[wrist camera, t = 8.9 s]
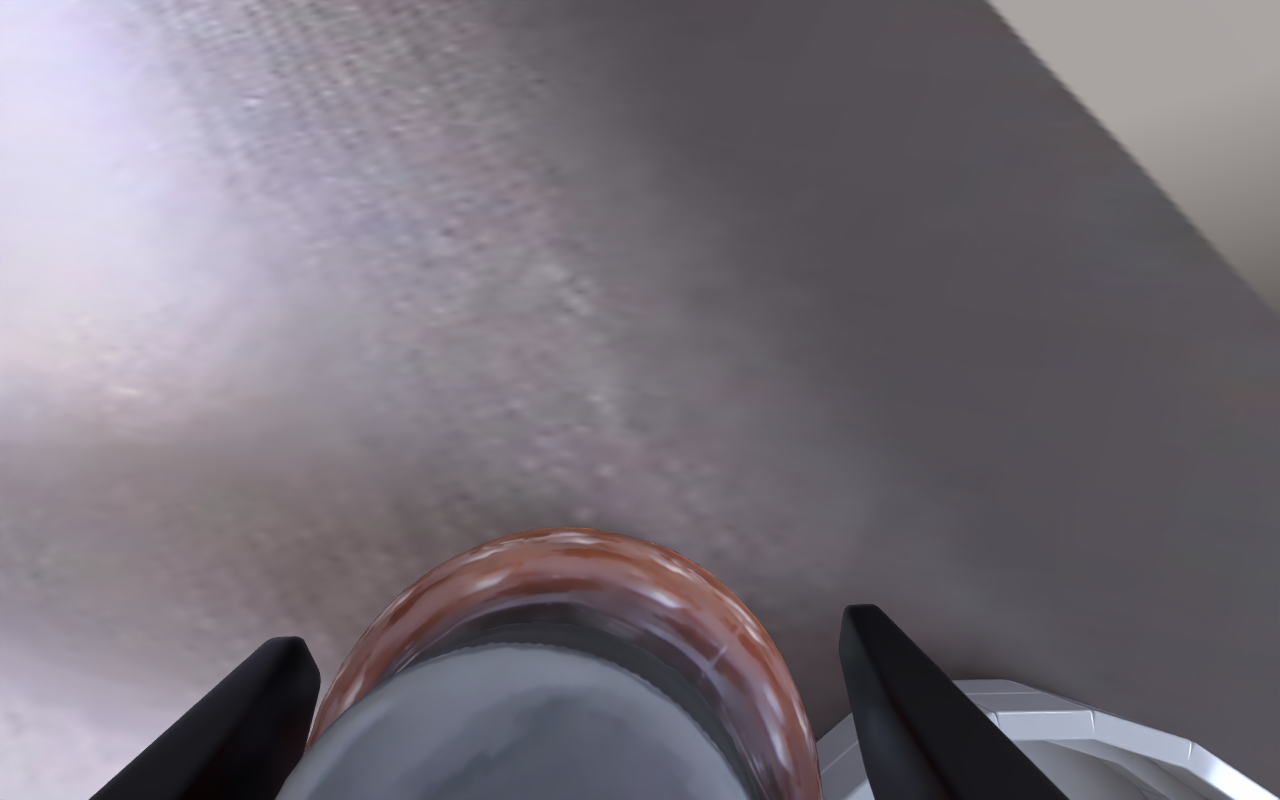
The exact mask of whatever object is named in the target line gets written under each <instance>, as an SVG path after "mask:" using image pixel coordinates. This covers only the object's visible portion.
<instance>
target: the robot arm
mask: <svg viewBox="0 0 1280 800" xmlns="http://www.w3.org/2000/svg"><path fill="white" fill-rule="evenodd" d="M839 654H840V660H841V665H842V669H843V674H844V678H845V683H846V687H847V692H848V696H849V701H850V706H851V710H852V715H853V719H854V724H855V728H856V733H857V737H858V742H859V746H860V751H861V755H862V759H863V763H864V767H865V771H866V774H867V777H868V781H869V784H870V787H871V790H872V793H873V796H874V799H875V800H1070V799H1069V798H1068V797H1067V796H1066V795H1065V794H1064V793H1063V792H1062V791H1061V790H1060V789H1059V788H1058V787H1057V786H1056V785H1055V784H1054V783H1053V782H1052V781H1051V780H1050V779H1049V778H1048V777H1047V776H1046V775H1045V774H1044V773H1043V772H1042V771H1041V770H1040V769H1039V768H1038V767H1037V766H1036V765H1035V764H1034V763H1033V762H1032V761H1031V760H1030V759H1029V758H1028V757H1027V756H1026V755H1025V754H1024V753H1023V752H1022V751H1021V750H1020V749H1019V748H1018V747H1017V746H1016V745H1015V744H1014V743H1013V742H1012V741H1011V740H1010V739H1009V738H1008V737H1007V736H1006V735H1005V734H1004V733H1003V732H1002V731H1001V730H1000V729H999V728H998V727H997V726H996V725H995V724H994V723H993V722H992V721H991V720H990V719H989V718H988V717H987V716H986V715H985V714H984V713H983V712H982V711H981V710H980V709H979V708H978V707H977V706H976V705H975V704H974V703H973V702H972V701H971V700H970V699H969V698H968V697H967V696H966V695H965V694H964V693H963V692H962V691H961V690H960V689H959V688H958V687H957V686H956V684H955V683H954V682H953V681H952V680H951V679H950V678H949V677H948V676H947V675H946V674H945V673H944V672H943V671H942V670H941V669H940V668H939V667H938V666H937V665H936V664H935V663H934V662H933V661H932V660H931V659H930V658H929V657H928V656H927V655H926V654H925V653H924V652H923V651H922V650H921V649H920V648H919V647H918V646H917V645H916V644H915V643H914V642H913V641H912V640H911V639H910V638H909V637H908V636H907V635H906V634H905V633H904V632H903V631H902V630H901V629H900V628H899V627H898V626H897V625H896V624H895V623H894V622H893V621H892V620H891V619H890V618H889V617H888V616H887V615H886V614H885V613H884V612H883V611H882V610H881V609H880V608H879V607H877V606H876V605H873V604H858V605H849V606H847V607H846V608H845V610H844V613H843V620H842V626H841V633H840V640H839ZM320 683H321V678H320V672H319V669H318V667H317V665H316V663H315V661H314V659H313V657H312V655H311V653H310V651H309V649H308V647H307V645H306V643H305V641H304V640H303V639H302V638H300V637H297V636H292V637H276V638H272V639H270V640H268V641H266V642H265V643H264V644H262V645H261V646H260V647H259V648H258V649H257V650H256V651H255V652H254V653H252V654H251V655H250V656H249V657H248V658H247V659H246V660H245V661H243V662H242V663H241V664H240V665H239V666H238V667H237V668H236V669H234V670H233V671H232V672H231V673H230V674H229V675H228V676H227V677H226V678H224V679H223V680H222V681H221V682H220V683H219V684H218V685H217V686H215V687H214V688H213V689H212V690H211V691H210V692H209V693H208V694H206V695H205V696H204V697H203V698H202V699H201V700H200V701H199V702H198V703H196V704H195V705H194V706H193V707H192V708H191V709H190V710H189V711H187V712H186V713H185V714H184V715H183V716H182V717H181V718H180V719H179V720H177V721H176V722H175V723H174V724H173V725H172V726H171V727H170V728H168V729H167V730H166V731H165V732H164V733H163V734H162V735H161V736H159V737H158V738H157V739H156V740H155V741H154V742H153V743H152V744H151V745H149V746H148V747H147V748H146V749H145V750H144V751H143V752H142V753H140V754H139V755H138V756H137V757H136V758H135V759H134V760H133V761H132V762H130V763H129V764H128V765H127V766H126V767H125V768H124V769H123V770H121V771H120V772H119V773H118V774H117V775H116V776H115V777H114V778H112V779H111V780H110V781H109V782H108V783H107V784H106V785H105V786H104V787H102V788H101V789H100V790H99V791H98V792H97V793H96V794H95V795H93V796H92V797H91V798H90V799H89V800H275V798H276V797H277V795H278V794H279V792H280V790H281V788H282V786H283V784H284V782H285V780H286V779H287V777H288V776H289V775H290V774H291V772H292V771H293V770H294V768H295V767H296V766H297V764H298V763H299V761H300V760H301V758H302V757H303V755H304V751H305V747H306V743H307V739H308V735H309V731H310V727H311V723H312V719H313V715H314V711H315V706H316V702H317V698H318V694H319V690H320Z"/></svg>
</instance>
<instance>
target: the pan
mask: <svg viewBox="0 0 1280 800" xmlns="http://www.w3.org/2000/svg"><path fill="white" fill-rule="evenodd" d="M952 681H953V682H954V683H955V684H956V686H957V687H958V688H959V689H960V690H961V691H962V692H963V693H964V694H965V695H966V696H967V697H968V698H969V699H970V700H971V701H972V702H973V703H974V704H975V705H976V706H977V707H978V708H979V709H980V710H981V711H982V712H983V713H984V714H985V715H986V716H987V717H988V718H989V719H990V720H991V721H992V722H993V723H994V724H995V725H996V726H997V727H998V728H999V729H1000V730H1001V731H1002V732H1003V733H1004V734H1005V735H1006V736H1007V737H1008V738H1009V739H1010V740H1011V741H1012V742H1013V743H1014V744H1015V745H1016V746H1017V747H1018V748H1019V749H1020V750H1021V751H1022V752H1023V753H1024V754H1025V755H1026V756H1027V757H1028V758H1029V759H1030V760H1031V761H1032V762H1033V763H1034V764H1035V765H1036V766H1037V767H1038V768H1039V769H1040V770H1041V771H1042V772H1043V773H1044V774H1045V775H1046V776H1047V777H1048V778H1049V779H1050V780H1051V781H1052V782H1053V783H1054V784H1055V785H1056V786H1057V787H1058V788H1059V789H1060V790H1061V791H1062V792H1063V793H1064V794H1065V795H1066V796H1067V797H1068V798H1069V799H1070V800H1280V798H1278V797H1277V796H1275V795H1274V794H1272V793H1271V792H1269V791H1268V790H1266V789H1264V788H1263V787H1261V786H1260V785H1258V784H1257V783H1255V782H1254V781H1252V780H1251V779H1249V778H1248V777H1246V776H1245V775H1243V774H1242V773H1240V772H1239V771H1237V770H1236V769H1234V768H1233V767H1231V766H1230V765H1228V764H1227V763H1225V762H1224V761H1222V760H1221V759H1219V758H1218V757H1216V756H1215V755H1213V754H1212V753H1210V752H1209V751H1207V750H1206V749H1204V748H1203V747H1201V746H1200V745H1198V744H1196V743H1195V742H1192V741H1190V740H1188V739H1186V738H1183V737H1180V736H1177V735H1174V734H1171V733H1169V732H1166V731H1163V730H1160V729H1157V728H1154V727H1151V726H1149V725H1146V724H1143V723H1140V722H1137V721H1134V720H1131V719H1128V718H1126V717H1123V716H1120V715H1117V714H1114V713H1111V712H1109V711H1106V710H1103V709H1100V708H1097V707H1094V706H1091V705H1089V704H1086V703H1083V702H1079V701H1076V700H1073V699H1070V698H1067V697H1063V696H1060V695H1057V694H1054V693H1050V692H1047V691H1044V690H1041V689H1038V688H1034V687H1031V686H1028V685H1025V684H1021V683H1018V682H1015V681H1012V680H1008V681H1007V680H1004V679H996V680H952ZM816 748H817V753H818V760H819V766H820V775H821V782H822V790H823V797H824V800H875V799H874V796H873V793H872V790H871V787H870V784H869V781H868V777H867V774H866V771H865V767H864V763H863V759H862V755H861V751H860V746H859V742H858V737H857V733H856V728H855V724H854V719H853V715H852V712H851V713H850V714H849V715H848V716H847V717H846V718H844V719H843V720H842V721H841V722H840V723H839V724H837V725H836V726H835V727H834V728H833V729H832V730H830V731H829V732H828V733H827V734H826V735H825V736H823V737H822V738H821V739H820V740H819V741H818V742H816Z"/></svg>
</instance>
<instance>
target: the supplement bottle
mask: <svg viewBox="0 0 1280 800" xmlns="http://www.w3.org/2000/svg"><path fill="white" fill-rule="evenodd" d="M275 800H824V797H823V790H822V782H821V775H820V766H819V760H818V753H817V748H816V742H815V738H814V735H813V732H812V729H811V724H810V722H809V720H808V717H807V714H806V711H805V709H804V705H803V701H802V699H801V696H800V694H799V691H798V689H797V687H796V685H795V683H794V681H793V679H792V677H791V674H790V672H789V670H788V668H787V666H786V664H785V662H784V660H783V658H782V656H781V654H780V653H779V651H778V649H777V648H776V646H775V645H774V643H773V641H772V640H771V638H770V637H769V635H768V633H767V632H766V630H765V629H764V628H763V626H762V625H761V624H760V622H759V621H758V620H757V618H756V617H755V616H754V615H753V614H752V613H751V612H750V611H749V610H748V609H747V608H746V607H745V605H744V604H743V603H742V602H741V601H740V600H739V599H738V598H737V597H736V596H735V595H734V594H733V593H732V592H731V591H730V590H728V589H727V588H726V587H725V586H724V585H723V584H722V583H721V582H720V581H718V580H717V579H716V578H715V577H714V576H712V575H711V574H710V573H709V572H707V571H706V570H704V569H703V568H702V567H700V566H699V565H698V564H696V563H693V562H691V561H690V560H688V559H686V558H685V557H683V556H682V555H680V554H679V553H677V552H675V551H672V550H669V549H667V548H665V547H663V546H660V545H658V544H656V543H653V542H648V541H642V540H638V539H635V538H631V537H627V536H623V535H618V534H614V533H608V532H602V531H599V530H594V529H590V528H547V529H538V530H532V531H526V532H520V533H515V534H511V535H508V536H505V537H501V538H498V539H495V540H493V541H490V542H487V543H485V544H482V545H480V546H477V547H475V548H473V549H471V550H469V551H467V552H464V553H462V554H460V555H457V556H455V557H453V558H451V559H450V560H448V561H446V562H444V563H442V564H441V565H439V566H438V567H436V568H435V569H433V570H432V571H430V572H429V573H427V574H426V575H424V576H423V577H421V578H420V579H419V580H418V581H416V582H415V583H414V584H413V585H411V586H410V587H408V588H407V589H405V590H404V591H403V592H402V593H401V594H400V595H398V596H397V598H396V599H395V600H394V601H393V602H391V603H390V604H389V605H388V606H387V607H386V608H385V609H384V610H383V611H382V612H381V614H380V615H379V616H378V617H377V618H376V619H375V621H374V622H373V623H372V624H371V625H370V626H369V627H368V629H367V630H366V631H365V633H364V634H363V635H362V636H361V638H360V639H359V641H358V642H357V643H356V645H355V646H354V648H353V649H352V651H351V652H350V654H349V655H348V656H347V658H346V659H345V661H344V662H343V664H342V665H341V667H340V669H339V671H338V673H337V675H336V677H335V679H334V681H333V683H332V685H331V686H330V688H329V690H328V692H327V693H326V695H325V697H324V699H323V701H322V703H321V706H320V708H319V711H318V713H317V716H316V719H315V722H314V725H313V729H312V732H311V735H310V738H309V740H308V742H307V744H306V748H305V752H304V755H303V757H302V758H301V760H300V761H299V763H298V764H297V766H296V767H295V768H294V770H293V771H292V772H291V774H290V775H289V776H288V777H287V779H286V780H285V782H284V784H283V786H282V788H281V790H280V792H279V794H278V795H277V797H276V798H275Z"/></svg>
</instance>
